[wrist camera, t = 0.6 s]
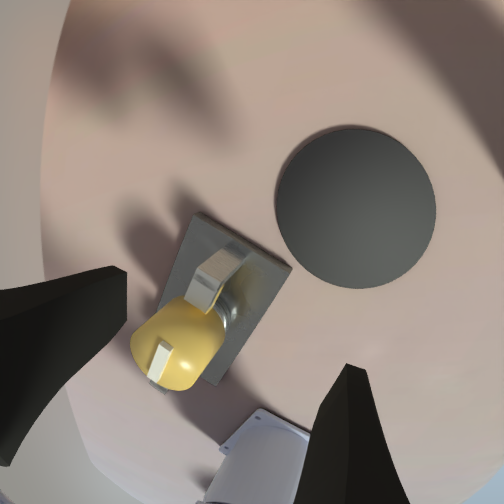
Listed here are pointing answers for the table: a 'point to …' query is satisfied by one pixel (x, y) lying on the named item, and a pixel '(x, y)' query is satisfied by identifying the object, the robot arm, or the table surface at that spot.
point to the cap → (177, 343)
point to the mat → (356, 208)
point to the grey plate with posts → (235, 285)
